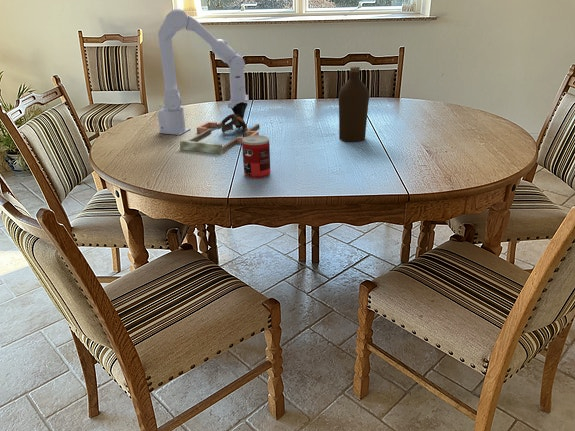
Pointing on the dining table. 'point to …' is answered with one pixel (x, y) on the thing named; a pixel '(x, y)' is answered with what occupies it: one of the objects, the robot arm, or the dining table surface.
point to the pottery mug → (233, 123)
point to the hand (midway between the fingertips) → (239, 122)
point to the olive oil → (353, 108)
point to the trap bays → (214, 125)
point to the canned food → (256, 156)
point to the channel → (210, 147)
